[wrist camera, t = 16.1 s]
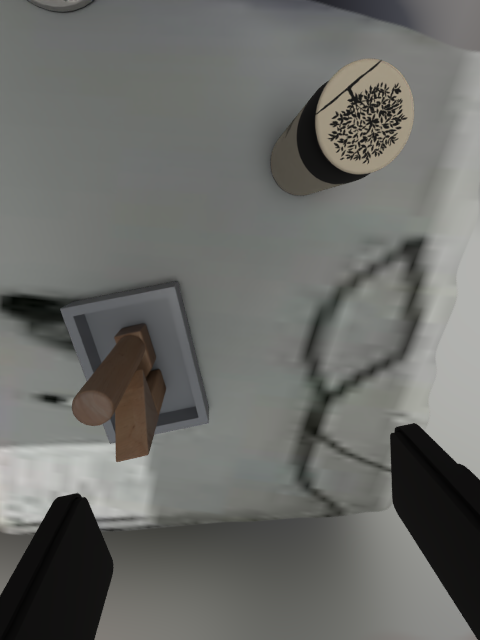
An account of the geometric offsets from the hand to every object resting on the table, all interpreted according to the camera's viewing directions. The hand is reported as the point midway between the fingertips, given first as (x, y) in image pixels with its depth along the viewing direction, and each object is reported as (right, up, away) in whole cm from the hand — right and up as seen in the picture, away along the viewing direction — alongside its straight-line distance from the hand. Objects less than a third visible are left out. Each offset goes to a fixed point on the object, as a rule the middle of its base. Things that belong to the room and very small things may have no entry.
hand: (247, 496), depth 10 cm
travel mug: (+8, +25, +31) cm, 41 cm away
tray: (-14, 0, +37) cm, 39 cm away
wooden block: (-14, 0, +36) cm, 39 cm away
